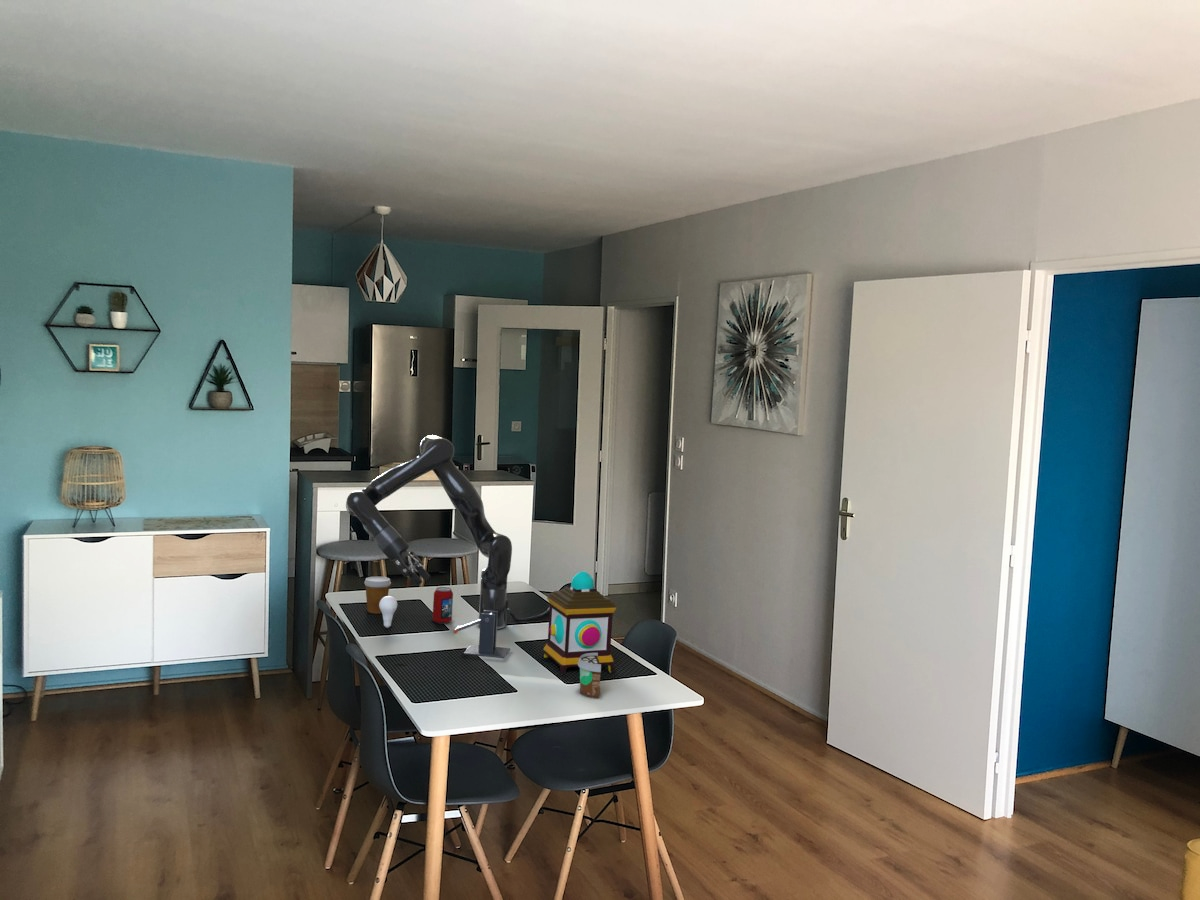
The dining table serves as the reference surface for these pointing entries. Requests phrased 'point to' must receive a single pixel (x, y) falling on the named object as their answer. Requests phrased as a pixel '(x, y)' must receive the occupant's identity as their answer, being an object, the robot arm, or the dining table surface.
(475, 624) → the lever
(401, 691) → the dining table surface
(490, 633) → the bracket
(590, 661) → the food container
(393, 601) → the lightbulb
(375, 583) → the disposable coffee cup
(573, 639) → the decorative lantern
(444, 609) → the beverage can
